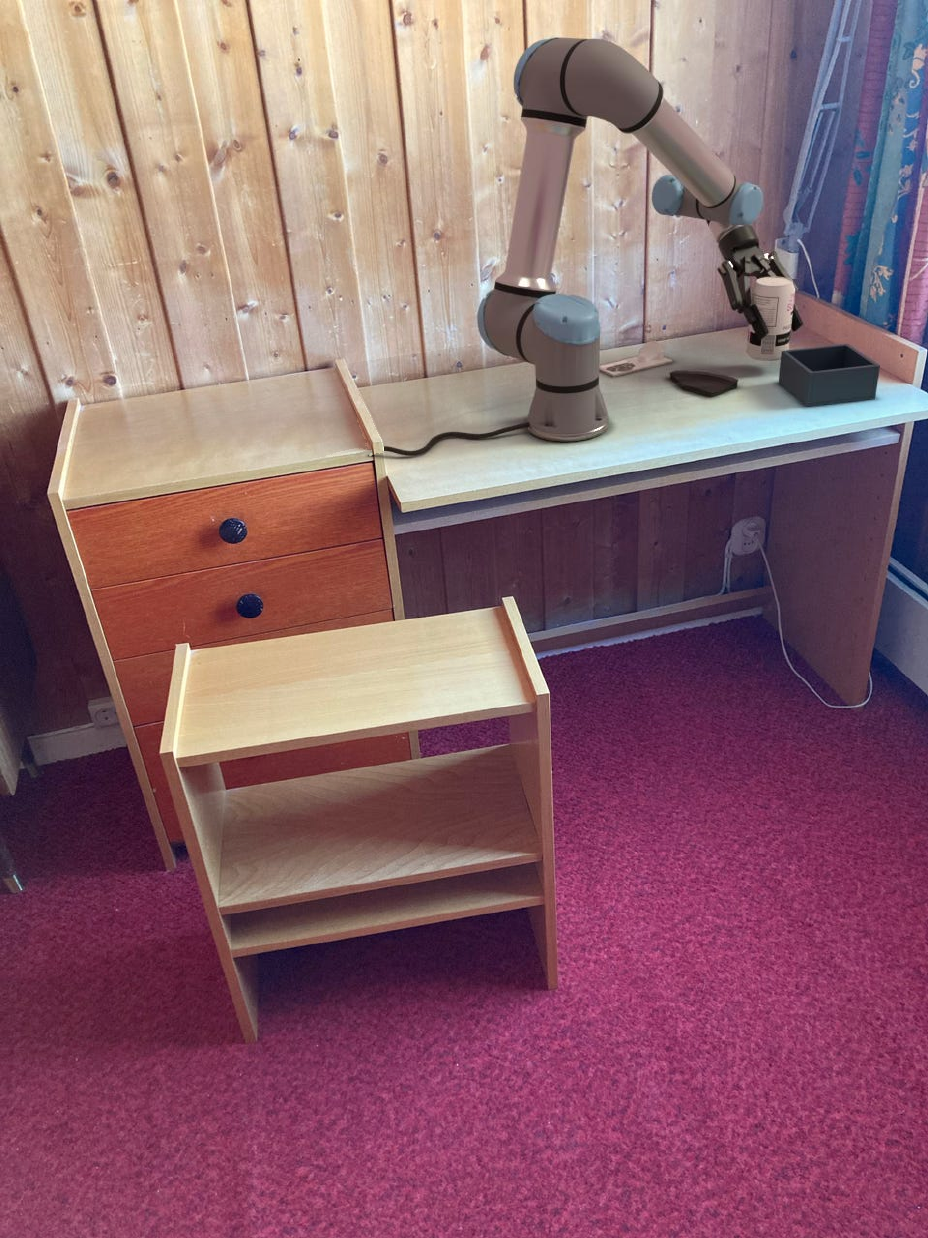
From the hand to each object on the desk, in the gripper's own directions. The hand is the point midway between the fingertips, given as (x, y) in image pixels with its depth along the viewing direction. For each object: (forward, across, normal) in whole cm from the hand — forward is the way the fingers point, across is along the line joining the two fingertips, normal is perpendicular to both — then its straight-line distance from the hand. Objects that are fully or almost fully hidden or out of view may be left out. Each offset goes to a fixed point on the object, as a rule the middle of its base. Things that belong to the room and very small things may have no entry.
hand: (781, 331), depth 209 cm
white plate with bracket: (-9, +20, -22) cm, 31 cm away
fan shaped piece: (+4, +16, -9) cm, 18 cm away
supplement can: (+2, 0, -6) cm, 7 cm away
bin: (+15, -1, +3) cm, 15 cm away
